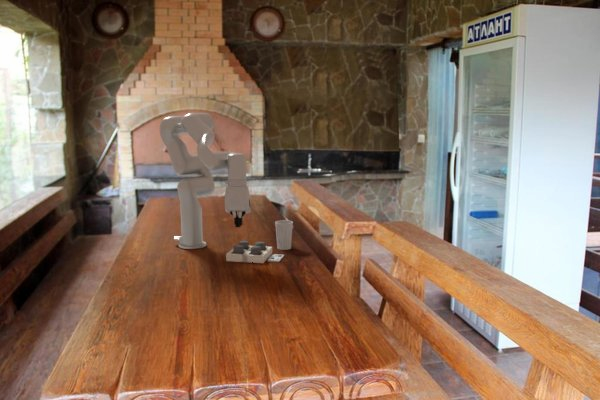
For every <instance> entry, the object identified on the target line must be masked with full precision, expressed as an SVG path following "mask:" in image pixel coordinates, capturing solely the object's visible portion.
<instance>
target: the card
mask: <svg viewBox="0 0 600 400" xmlns="http://www.w3.org/2000/svg"><path fill="white" fill-rule="evenodd" d="M284 257H285V254H277V253H272V254H271V255H270V257H269V258H268V259H267V262H271V263H273V262H274V263H280V262H281V261H282V259H283V258H284Z"/></svg>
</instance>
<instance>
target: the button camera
mask: <svg viewBox="0 0 600 400" xmlns="http://www.w3.org/2000/svg"><path fill="white" fill-rule="evenodd" d="M251 246H252V247H251V255H261V247H260V246H255V245H251Z"/></svg>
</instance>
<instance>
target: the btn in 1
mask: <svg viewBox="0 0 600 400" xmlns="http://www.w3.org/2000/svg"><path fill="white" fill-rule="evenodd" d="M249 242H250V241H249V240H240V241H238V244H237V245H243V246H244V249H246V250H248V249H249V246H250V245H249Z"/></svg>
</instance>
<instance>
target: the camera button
mask: <svg viewBox="0 0 600 400" xmlns="http://www.w3.org/2000/svg"><path fill="white" fill-rule="evenodd" d="M232 249H233V254H243V253H244V246H243V245H238V244H236V245H235V244H234V245H233V246H232Z"/></svg>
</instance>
